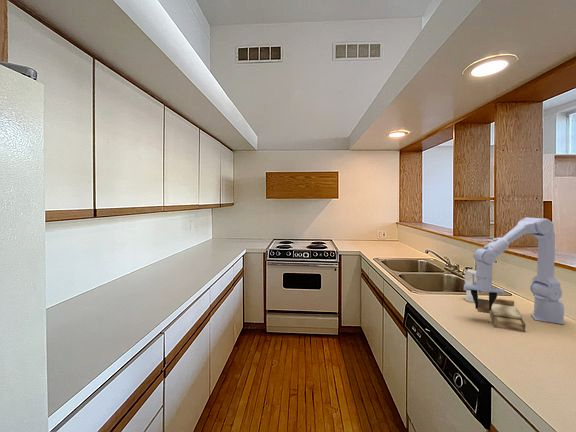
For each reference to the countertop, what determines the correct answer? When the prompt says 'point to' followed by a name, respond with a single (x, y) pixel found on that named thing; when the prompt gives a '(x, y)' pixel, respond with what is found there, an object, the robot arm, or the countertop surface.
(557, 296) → the robot arm
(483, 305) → the block
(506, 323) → the brown divided tray
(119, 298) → the countertop surface
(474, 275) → the beer glass
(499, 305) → the lid
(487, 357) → the countertop surface
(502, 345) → the countertop surface
